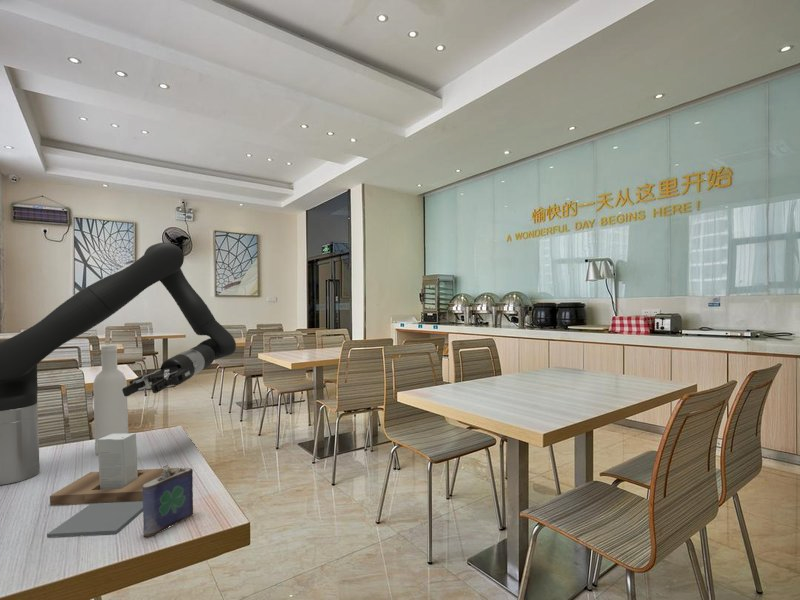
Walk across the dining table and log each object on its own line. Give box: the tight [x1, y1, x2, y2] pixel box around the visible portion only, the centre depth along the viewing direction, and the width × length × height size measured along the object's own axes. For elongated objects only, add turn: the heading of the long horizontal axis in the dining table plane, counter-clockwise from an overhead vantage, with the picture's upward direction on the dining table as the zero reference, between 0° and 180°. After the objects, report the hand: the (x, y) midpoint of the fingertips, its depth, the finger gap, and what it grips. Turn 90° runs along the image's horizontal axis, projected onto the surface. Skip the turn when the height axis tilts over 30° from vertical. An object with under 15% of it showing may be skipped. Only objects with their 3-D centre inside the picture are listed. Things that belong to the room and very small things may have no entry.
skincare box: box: [98, 432, 138, 490], centre depth 93 cm, size 6×4×12 cm
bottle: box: [92, 343, 129, 457], centre depth 118 cm, size 8×8×30 cm
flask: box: [142, 464, 194, 537], centre depth 77 cm, size 9×3×11 cm, turn 151°
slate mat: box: [46, 501, 143, 538], centre depth 80 cm, size 12×11×1 cm
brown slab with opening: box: [49, 467, 179, 506], centre depth 93 cm, size 20×12×2 cm, turn 92°
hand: (138, 391), depth 102 cm, fingers open, 8 cm apart
